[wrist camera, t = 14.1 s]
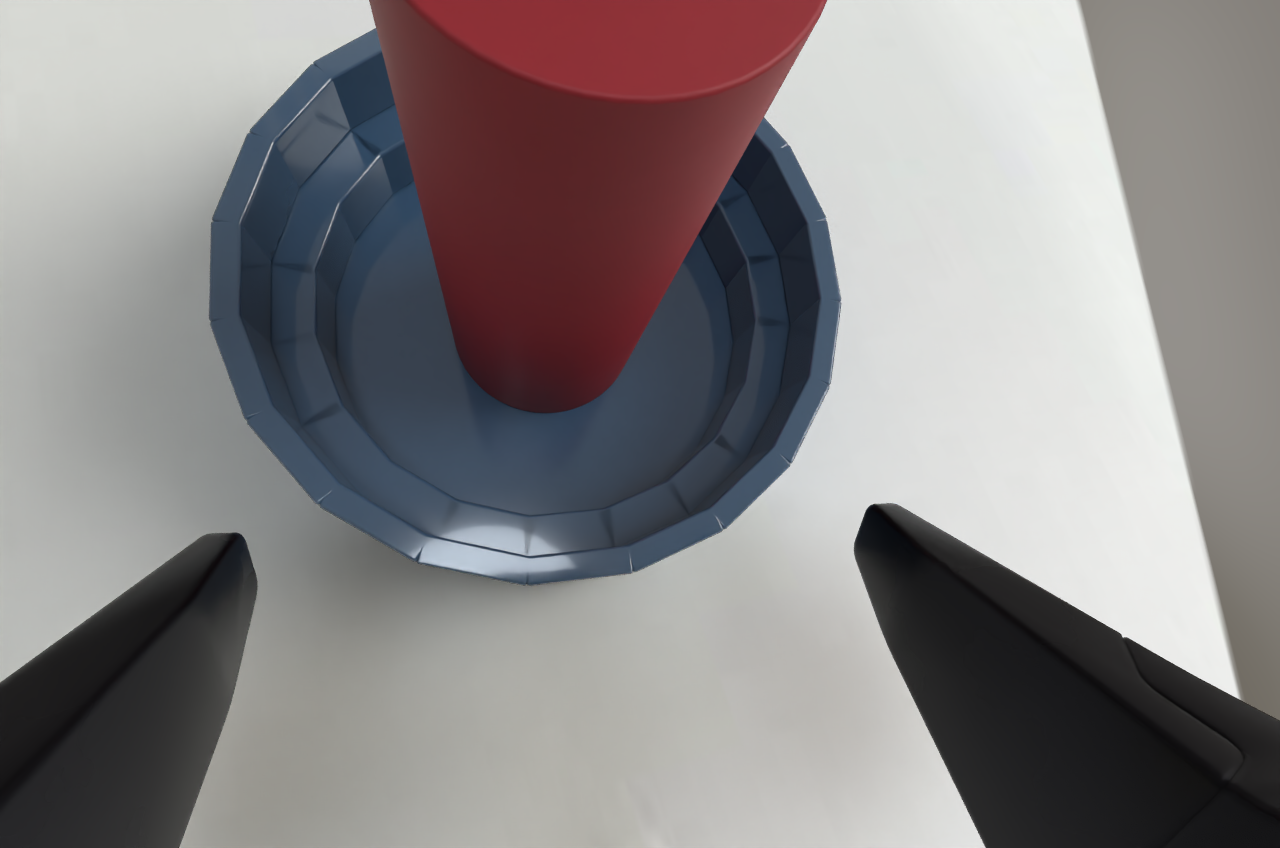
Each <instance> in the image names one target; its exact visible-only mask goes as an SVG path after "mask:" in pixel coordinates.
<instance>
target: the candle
mask: <svg viewBox="0 0 1280 848" xmlns="http://www.w3.org/2000/svg"><path fill="white" fill-rule="evenodd" d="M369 1H370V5H371V9H372V13H373V17H374V21H375V25H376V29H377V33H378V37H379V41H380V45H381V49H382V53H383V57H384V61H385V65H386V69H387V73H388V77H389V81H390V85H391V89H392V93H393V97H394V101H395V105H396V109H397V113H398V117H399V121H400V125H401V129H402V133H403V137H404V141H405V145H406V149H407V153H408V157H409V161H410V165H411V169H412V173H413V177H414V181H415V185H416V189H417V193H418V197H419V201H420V205H421V209H422V213H423V217H424V221H425V225H426V229H427V233H428V237H429V241H430V245H431V249H432V253H433V257H434V261H435V265H436V269H437V273H438V277H439V281H440V285H441V289H442V293H443V297H444V301H445V305H446V309H447V313H448V317H449V321H450V325H451V329H452V333H453V337H454V341H455V345H456V349H457V352H458V355H459V357H460V360H461V362H462V363H463V365H464V367H465V369H466V371H467V372H468V373H469V375H470V376H471V377H472V379H473V380H474V381H475V382H476V383H477V384H478V385H479V386H480V387H481V388H482V389H483V390H484V391H486V392H487V393H488V394H489V395H491V396H492V397H494V398H495V399H497V400H499V401H500V402H502V403H504V404H507V405H509V406H511V407H514V408H517V409H520V410H524V411H530V412H536V413H555V412H562V411H567V410H572V409H574V408H577V407H580V406H583V405H585V404H587V403H589V402H591V401H592V400H594V399H595V398H597V397H598V396H600V395H601V394H602V393H603V392H605V391H606V390H607V389H608V388H609V387H610V386H611V385H612V384H613V382H614V381H615V380H616V379H617V377H618V376H619V374H620V373H621V371H622V369H623V368H624V366H625V364H626V362H627V360H628V359H629V357H630V355H631V353H632V352H633V350H634V348H635V346H636V344H637V343H638V341H639V339H640V337H641V335H642V334H643V332H644V330H645V328H646V327H647V325H648V323H649V321H650V319H651V318H652V316H653V314H654V312H655V310H656V309H657V307H658V305H659V303H660V301H661V300H662V298H663V296H664V294H665V293H666V291H667V289H668V287H669V285H670V284H671V282H672V280H673V278H674V276H675V275H676V273H677V271H678V269H679V268H680V266H681V264H682V262H683V260H684V259H685V257H686V255H687V253H688V251H689V250H690V248H691V246H692V244H693V243H694V241H695V239H696V237H697V235H698V234H699V232H700V230H701V228H702V226H703V225H704V223H705V221H706V219H707V217H708V216H709V214H710V212H711V210H712V209H713V207H714V205H715V203H716V201H717V200H718V198H719V196H720V194H721V192H722V191H723V189H724V187H725V185H726V184H727V182H728V180H729V178H730V176H731V175H732V173H733V171H734V169H735V167H736V166H737V164H738V162H739V160H740V159H741V157H742V155H743V153H744V151H745V150H746V148H747V146H748V144H749V142H750V141H751V139H752V137H753V135H754V133H755V132H756V130H757V128H758V126H759V125H760V123H761V121H762V119H763V117H764V116H765V114H766V112H767V110H768V108H769V107H770V105H771V103H772V101H773V100H774V98H775V96H776V94H777V92H778V91H779V89H780V87H781V85H782V83H783V82H784V80H785V78H786V76H787V75H788V73H789V71H790V69H791V67H792V66H793V64H794V62H795V60H796V58H797V57H798V55H799V53H800V51H801V49H802V48H803V46H804V44H805V42H806V41H807V39H808V37H809V35H810V33H811V32H812V30H813V28H814V26H815V24H816V23H817V21H818V19H819V17H820V16H821V13H822V11H823V9H824V6H825V4H826V2H827V0H369Z"/></svg>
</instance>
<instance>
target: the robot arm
mask: <svg viewBox="0 0 1280 848" xmlns="http://www.w3.org/2000/svg"><path fill="white" fill-rule="evenodd" d="M854 555H855V559H856V562H857V565H858V567H859V570H860V573H861V576H862V578H863V581H864V584H865V587H866V589H867V592H868V595H869V598H870V600H871V603H872V606H873V609H874V611H875V614H876V617H877V620H878V622H879V625H880V628H881V630H882V633H883V635H884V638H885V640H886V643H887V645H888V647H889V649H890V652H891V654H892V656H893V658H894V660H895V662H896V664H897V666H898V668H899V670H900V673H901V675H902V677H903V679H904V681H905V683H906V685H907V687H908V689H909V691H910V693H911V695H912V697H913V699H914V701H915V703H916V705H917V707H918V710H919V712H920V714H921V716H922V718H923V720H924V722H925V724H926V726H927V728H928V730H929V732H930V734H931V736H932V738H933V740H934V742H935V745H936V747H937V749H938V751H939V753H940V755H941V757H942V759H943V761H944V763H945V765H946V767H947V769H948V771H949V773H950V775H951V777H952V779H953V782H954V784H955V786H956V788H957V790H958V792H959V794H960V796H961V798H962V800H963V802H964V804H965V806H966V808H967V810H968V812H969V814H970V816H971V819H972V821H973V823H974V825H975V827H976V829H977V831H978V833H979V835H980V837H981V839H982V841H983V843H984V845H985V847H986V848H1280V721H1279V720H1277V719H1276V718H1274V717H1272V716H1270V715H1268V714H1266V713H1264V712H1262V711H1260V710H1258V709H1256V708H1254V707H1252V706H1250V705H1249V704H1247V703H1245V702H1243V701H1241V700H1239V699H1237V698H1235V697H1233V696H1232V695H1230V694H1228V693H1226V692H1224V691H1222V690H1220V689H1218V688H1216V687H1215V686H1213V685H1211V684H1209V683H1207V682H1205V681H1203V680H1201V679H1199V678H1198V677H1196V676H1194V675H1192V674H1190V673H1189V672H1187V671H1185V670H1183V669H1181V668H1180V667H1178V666H1176V665H1174V664H1173V663H1171V662H1169V661H1167V660H1165V659H1164V658H1162V657H1160V656H1158V655H1157V654H1155V653H1153V652H1151V651H1150V650H1148V649H1146V648H1145V647H1143V646H1141V645H1139V644H1138V643H1136V642H1134V641H1133V640H1131V639H1129V638H1127V637H1124V638H1123V637H1122V635H1121V634H1120V633H1119V632H1117V631H1115V630H1113V629H1112V628H1110V627H1108V626H1106V625H1105V624H1103V623H1101V622H1100V621H1098V620H1096V619H1094V618H1093V617H1091V616H1089V615H1087V614H1086V613H1084V612H1082V611H1081V610H1079V609H1077V608H1075V607H1074V606H1072V605H1070V604H1068V603H1067V602H1065V601H1063V600H1062V599H1060V598H1058V597H1056V596H1055V595H1053V594H1051V593H1049V592H1048V591H1046V590H1044V589H1043V588H1041V587H1039V586H1037V585H1036V584H1034V583H1032V582H1030V581H1029V580H1027V579H1025V578H1024V577H1022V576H1020V575H1018V574H1017V573H1015V572H1013V571H1011V570H1010V569H1008V568H1006V567H1005V566H1003V565H1001V564H999V563H998V562H996V561H994V560H992V559H991V558H989V557H987V556H986V555H984V554H982V553H980V552H979V551H977V550H975V549H973V548H972V547H970V546H968V545H967V544H965V543H963V542H961V541H960V540H958V539H956V538H954V537H953V536H951V535H949V534H948V533H946V532H944V531H942V530H941V529H939V528H937V527H935V526H934V525H932V524H930V523H929V522H927V521H925V520H923V519H922V518H920V517H918V516H917V515H915V514H913V513H911V512H910V511H908V510H906V509H904V508H903V507H901V506H899V505H897V504H893V503H887V504H873V505H870V506H869V507H868V508H867V510H866V512H865V514H864V517H863V520H862V523H861V526H860V528H859V531H858V534H857V537H856V540H855V543H854ZM256 595H257V577H256V573H255V570H254V567H253V563H252V560H251V557H250V553H249V550H248V547H247V543H246V541H245V539H244V537H243V536H242V535H241V534H239V533H212V534H206V535H204V536H202V537H200V538H199V539H197V540H196V541H195V542H193V543H192V544H191V545H189V546H188V547H186V548H185V549H184V550H182V551H181V552H180V553H178V554H177V555H175V556H174V557H173V558H171V559H170V560H169V561H167V562H166V563H164V564H163V565H162V566H160V567H159V568H158V569H156V570H155V571H153V572H152V573H151V574H149V575H148V576H146V577H145V578H144V579H142V580H141V581H140V582H138V583H137V584H135V585H134V586H133V587H131V588H130V589H129V590H127V591H126V592H124V593H123V594H122V595H120V596H119V597H118V598H116V599H115V600H113V601H112V602H111V603H109V604H108V605H107V606H105V607H104V608H102V609H101V610H100V611H98V612H97V613H96V614H94V615H93V616H91V617H90V618H89V619H87V620H86V621H84V622H83V623H82V624H80V625H79V626H78V627H76V628H75V629H73V630H72V631H71V632H69V633H68V634H67V635H65V636H64V637H62V638H61V639H60V640H58V641H57V642H56V643H54V644H53V645H51V646H50V647H49V648H47V649H46V650H45V651H43V652H42V653H40V654H39V655H38V656H36V657H35V658H33V659H32V660H31V661H29V662H28V663H27V664H25V665H24V666H22V667H21V668H20V669H18V670H17V671H16V672H14V673H13V674H11V675H10V676H9V677H7V678H6V679H5V680H3V681H2V682H0V848H179V847H180V844H181V841H182V838H183V836H184V833H185V830H186V827H187V825H188V822H189V819H190V816H191V814H192V811H193V808H194V805H195V803H196V800H197V797H198V794H199V792H200V789H201V786H202V783H203V781H204V778H205V775H206V772H207V770H208V767H209V764H210V761H211V759H212V756H213V753H214V750H215V748H216V745H217V742H218V739H219V737H220V734H221V731H222V728H223V725H224V723H225V720H226V717H227V714H228V711H229V708H230V705H231V701H232V697H233V694H234V690H235V686H236V682H237V677H238V673H239V669H240V665H241V660H242V656H243V652H244V647H245V643H246V639H247V634H248V630H249V626H250V622H251V617H252V613H253V609H254V604H255V600H256Z"/></svg>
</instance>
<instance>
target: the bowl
mask: <svg viewBox="0 0 1280 848" xmlns="http://www.w3.org/2000/svg"><path fill="white" fill-rule="evenodd" d="M212 220H213V222H212V223H211V250H210V295H209V320H210V321H211V322H210V326H211V329H212V332H213V334H214V337H215V340H216V343H217V345H218V348H219V351H220V354H221V356H222V359H223V362H224V365H225V367H226V370H227V373H228V375H229V378H230V381H231V384H232V386H233V389H234V392H235V395H236V397H237V400H238V403H239V406H240V408H241V411H242V414H243V416H244V419H245V420H247V424H248V425H249V426H250V428H251V429H252V430H253V431H254V432H255V434H256V435H257V436H258V437H259V438H260V439H261V441H262V442H263V443H264V444H265V445H266V446H267V448H268V449H269V450H270V451H271V452H272V453H273V455H274V456H275V457H276V458H277V459H278V460H279V462H280V463H281V464H282V465H283V466H284V467H285V469H286V470H287V471H288V472H289V473H290V474H291V476H292V477H293V478H294V479H295V480H296V481H297V483H298V484H299V485H300V486H301V487H302V489H303V490H304V491H305V492H306V493H307V494H308V496H309V497H310V498H311V499H312V500H313V501H314V503H315V504H317V505H319V506H320V507H321V508H322V509H323V510H325V511H327V512H329V513H330V514H332V515H334V516H335V517H337V518H339V519H341V520H342V521H344V522H346V523H348V524H349V525H351V526H353V527H354V528H356V529H358V530H360V531H361V532H363V533H365V534H366V535H368V536H370V537H372V538H373V539H375V540H377V541H378V542H380V543H382V544H384V545H385V546H387V547H389V548H391V549H392V550H394V551H396V552H397V553H399V554H401V555H403V556H404V557H406V558H408V559H409V560H411V561H413V562H417V563H418V564H421V565H426V566H431V567H436V568H441V569H446V570H451V571H455V572H460V573H465V574H470V575H475V576H480V577H485V578H490V579H494V580H499V581H504V582H509V583H514V584H519V585H526V584H527V585H529V586H532V585H540V584H549V583H557V582H566V581H574V580H582V579H591V578H599V577H608V576H616V575H625V574H631V573H633V572H638V571H640V570H642V569H644V568H646V567H648V566H650V565H652V564H654V563H657V562H659V561H661V560H663V559H665V558H667V557H669V556H671V555H673V554H676V553H678V552H680V551H682V550H684V549H686V548H688V547H690V546H692V545H695V544H697V543H699V542H701V541H703V540H705V539H707V538H709V537H711V536H714V535H716V534H718V533H720V532H722V531H723V529H726V528H727V527H728V526H729V525H730V524H731V523H733V522H734V521H735V520H736V519H737V518H738V517H739V516H740V515H741V514H742V513H743V512H744V511H745V510H746V509H747V508H748V507H749V506H750V505H751V504H752V503H753V502H754V501H755V500H756V499H757V498H758V497H759V496H760V495H761V494H762V493H763V492H764V491H765V490H766V489H767V488H768V487H769V486H770V485H771V484H772V483H773V482H774V481H775V480H776V479H777V478H778V477H779V476H781V475H782V474H783V473H784V472H785V471H786V470H787V469H788V468H789V467H790V464H791V463H792V462H793V460H794V458H795V456H796V454H797V452H798V450H799V448H800V446H801V444H802V442H803V440H804V438H805V436H806V434H807V432H808V430H809V428H810V426H811V424H812V422H813V420H814V418H815V416H816V414H817V412H818V410H819V408H820V406H821V404H822V402H823V400H824V398H825V396H826V394H827V392H828V390H829V385H830V384H831V377H832V369H833V362H834V354H835V347H836V339H837V332H838V324H839V317H840V309H841V302H840V301H841V296H840V290H839V285H838V279H837V274H836V268H835V262H834V257H833V251H832V246H831V240H830V235H829V229H828V224H827V221H826V216H825V214H824V212H823V210H822V208H821V206H820V204H819V202H818V200H817V198H816V196H815V195H814V193H813V191H812V189H811V187H810V185H809V183H808V181H807V179H806V177H805V175H804V173H803V171H802V169H801V167H800V165H799V163H798V161H797V159H796V157H795V155H794V153H793V151H792V149H791V147H790V146H789V145H788V144H787V142H786V141H785V140H784V139H783V138H782V137H781V136H780V134H779V133H778V132H777V131H776V130H775V129H774V128H773V127H772V126H771V125H770V124H769V122H768V121H767V120H766V119H765V118H764V117H763V119H762V121H761V123H760V125H759V126H758V128H757V130H756V132H755V133H754V135H753V137H752V139H751V141H750V142H749V144H748V146H747V148H746V150H745V151H744V153H743V155H742V157H741V159H740V160H739V162H738V164H737V166H736V167H735V169H734V171H733V173H732V175H731V176H730V178H729V180H728V182H727V184H726V185H725V187H724V189H723V191H722V192H721V194H720V196H719V198H718V200H717V201H716V203H715V205H714V207H713V209H712V210H711V212H710V214H709V216H708V217H707V219H706V221H705V223H704V225H703V226H702V228H701V230H700V232H699V234H698V235H697V237H696V239H695V241H694V243H693V244H692V246H691V248H690V250H689V251H688V253H687V255H686V257H685V259H684V260H683V262H682V264H681V266H680V268H679V269H678V271H677V273H676V275H675V276H674V278H673V280H672V282H671V284H670V285H669V287H668V289H667V291H666V293H665V294H664V296H663V298H662V300H661V301H660V303H659V305H658V307H657V309H656V310H655V312H654V314H653V316H652V318H651V319H650V321H649V323H648V325H647V327H646V328H645V330H644V332H643V334H642V335H641V337H640V339H639V341H638V343H637V344H636V346H635V348H634V350H633V352H632V353H631V355H630V357H629V359H628V360H627V362H626V364H625V366H624V368H623V369H622V371H621V373H620V374H619V376H618V377H617V379H616V380H615V381H614V382H613V384H612V385H611V386H610V387H609V388H608V389H607V390H606V391H605V392H603V393H602V394H601V395H600V396H598V397H597V398H595V399H594V400H592V401H591V402H589V403H587V404H585V405H583V406H580V407H577V408H574V409H572V410H567V411H562V412H555V413H536V412H530V411H524V410H520V409H517V408H514V407H511V406H509V405H507V404H504V403H502V402H500V401H499V400H497V399H495V398H494V397H492V396H491V395H489V394H488V393H487V392H486V391H484V390H483V389H482V388H481V387H480V386H479V385H478V384H477V383H476V382H475V381H474V380H473V379H472V377H471V376H470V375H469V373H468V372H467V371H466V369H465V367H464V365H463V363H462V362H461V360H460V357H459V355H458V352H457V349H456V345H455V341H454V337H453V333H452V329H451V325H450V321H449V317H448V313H447V309H446V305H445V301H444V297H443V293H442V289H441V285H440V281H439V277H438V273H437V269H436V265H435V261H434V257H433V253H432V249H431V245H430V241H429V237H428V233H427V229H426V225H425V221H424V217H423V213H422V209H421V205H420V201H419V197H418V193H417V189H416V185H415V181H414V177H413V173H412V169H411V165H410V161H409V157H408V153H407V149H406V145H405V141H404V137H403V133H402V129H401V125H400V121H399V117H398V113H397V109H396V105H395V101H394V97H393V93H392V89H391V85H390V81H389V77H388V73H387V69H386V65H385V61H384V57H383V53H382V49H381V45H380V41H379V37H378V33H377V29H376V28H375V29H373V30H372V31H370V32H368V33H366V34H364V35H362V36H360V37H359V38H357V39H355V40H353V41H351V42H349V43H347V44H346V45H344V46H342V47H340V48H338V49H336V50H334V51H333V52H331V53H329V54H327V55H325V56H323V57H321V58H320V59H318V60H316V61H314V62H313V64H311V65H310V66H309V67H308V68H307V69H306V70H305V71H304V72H303V73H302V74H301V76H300V77H299V78H298V79H297V80H296V81H295V82H294V83H293V84H292V85H291V86H290V87H289V88H288V89H287V91H286V92H285V93H284V94H283V95H282V96H281V97H280V98H279V99H278V100H277V101H276V102H275V103H274V104H273V106H272V107H271V108H270V109H269V110H268V111H267V112H266V113H265V114H264V115H263V116H262V117H261V118H260V119H259V121H258V122H257V123H256V124H255V125H254V126H253V127H252V128H251V129H250V133H248V134H247V136H246V138H245V141H244V143H243V145H242V148H241V150H240V153H239V155H238V157H237V160H236V162H235V165H234V167H233V169H232V172H231V174H230V176H229V179H228V181H227V184H226V186H225V188H224V191H223V193H222V196H221V198H220V200H219V203H218V205H217V208H216V210H215V212H214V215H213V217H212Z"/></svg>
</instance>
